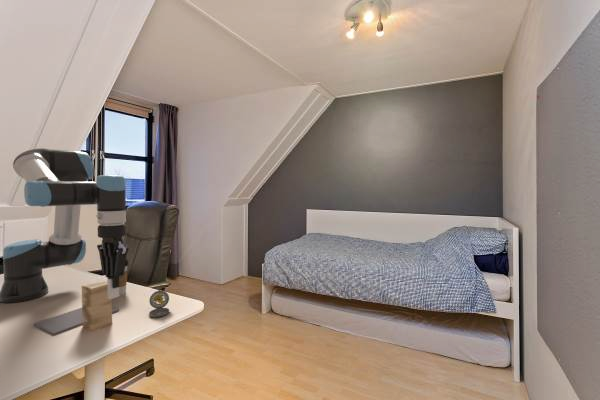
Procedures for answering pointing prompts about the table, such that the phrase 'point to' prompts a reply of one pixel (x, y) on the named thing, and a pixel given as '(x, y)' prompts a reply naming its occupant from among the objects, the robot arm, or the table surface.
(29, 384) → the table surface
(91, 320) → the oak block
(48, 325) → the rubber mat
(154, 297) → the pocket watch
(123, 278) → the coffee cup
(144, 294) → the table surface
